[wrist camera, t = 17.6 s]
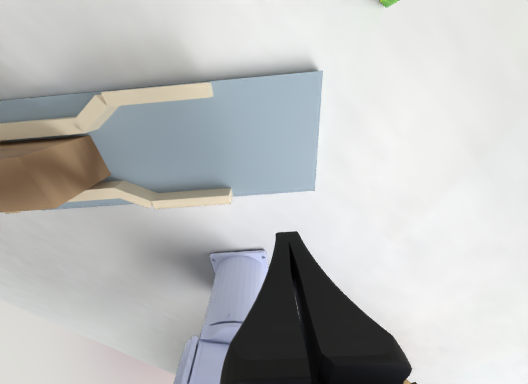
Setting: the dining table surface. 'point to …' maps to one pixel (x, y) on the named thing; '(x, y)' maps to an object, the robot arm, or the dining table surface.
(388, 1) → the syrup box
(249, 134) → the slide board
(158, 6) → the dining table surface
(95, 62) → the dining table surface
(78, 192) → the brown prism
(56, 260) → the dining table surface
